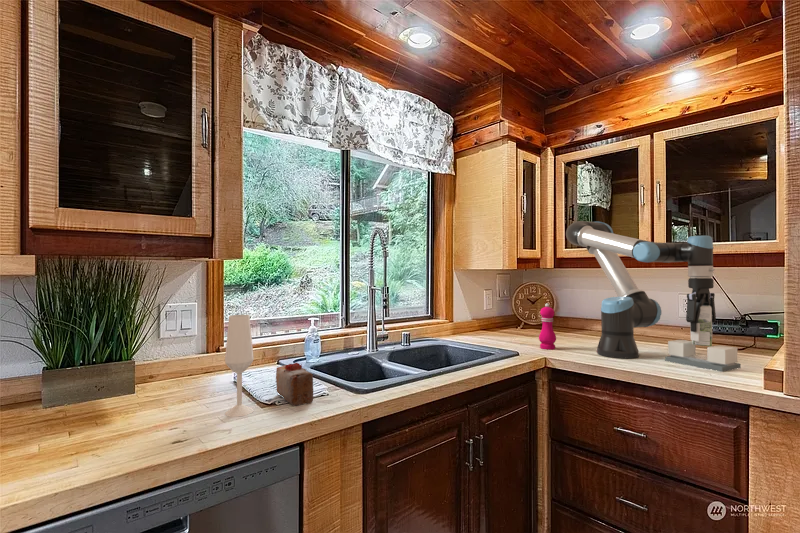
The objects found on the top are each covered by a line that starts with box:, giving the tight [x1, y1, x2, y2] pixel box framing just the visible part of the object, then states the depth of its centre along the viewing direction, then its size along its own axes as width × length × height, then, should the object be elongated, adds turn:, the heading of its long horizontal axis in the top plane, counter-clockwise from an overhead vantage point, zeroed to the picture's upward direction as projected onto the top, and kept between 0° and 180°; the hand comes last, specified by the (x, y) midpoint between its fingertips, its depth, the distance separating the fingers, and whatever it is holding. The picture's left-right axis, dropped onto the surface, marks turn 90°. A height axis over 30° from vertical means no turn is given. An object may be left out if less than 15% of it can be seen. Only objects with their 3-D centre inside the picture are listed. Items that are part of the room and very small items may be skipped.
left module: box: [667, 339, 697, 357], centre depth 157 cm, size 6×8×5 cm
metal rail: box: [670, 355, 736, 366], centre depth 151 cm, size 19×5×1 cm, turn 27°
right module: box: [706, 344, 739, 364], centre depth 145 cm, size 6×8×5 cm
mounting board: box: [664, 355, 741, 373], centre depth 151 cm, size 19×12×2 cm, turn 27°
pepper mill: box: [538, 302, 557, 351], centre depth 182 cm, size 7×7×20 cm
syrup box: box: [691, 305, 713, 347], centre depth 151 cm, size 6×6×14 cm
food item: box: [275, 362, 314, 407], centre depth 113 cm, size 14×8×10 cm, turn 35°
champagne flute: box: [224, 314, 255, 418], centre depth 102 cm, size 7×7×24 cm
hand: (701, 339), depth 151 cm, fingers closed on syrup box, 7 cm apart
